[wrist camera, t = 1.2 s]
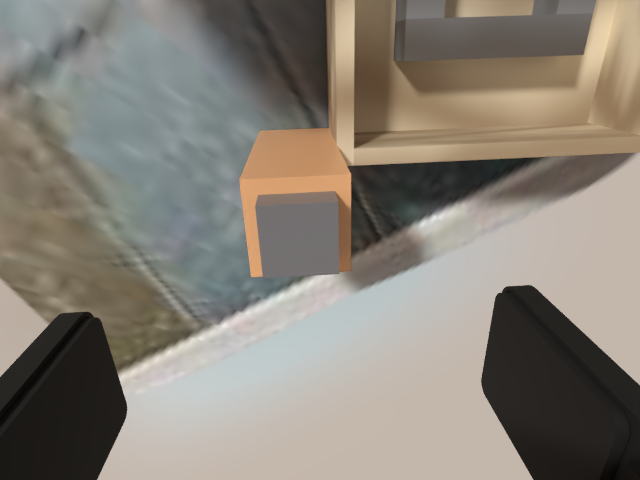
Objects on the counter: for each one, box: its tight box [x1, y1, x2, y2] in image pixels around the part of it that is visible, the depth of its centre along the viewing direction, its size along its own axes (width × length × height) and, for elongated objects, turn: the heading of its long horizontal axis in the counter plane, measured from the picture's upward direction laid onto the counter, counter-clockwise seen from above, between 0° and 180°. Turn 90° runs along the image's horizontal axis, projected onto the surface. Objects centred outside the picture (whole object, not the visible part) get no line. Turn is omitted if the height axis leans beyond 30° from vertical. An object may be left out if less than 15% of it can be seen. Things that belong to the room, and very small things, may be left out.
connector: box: [239, 128, 351, 278], centre depth 19 cm, size 4×4×11 cm
